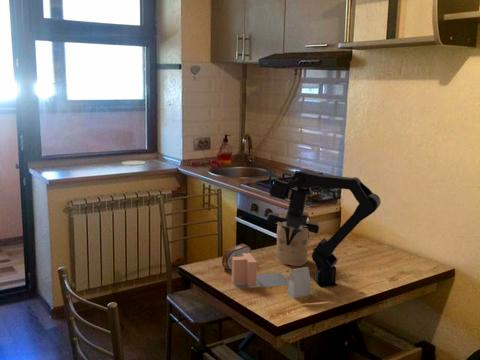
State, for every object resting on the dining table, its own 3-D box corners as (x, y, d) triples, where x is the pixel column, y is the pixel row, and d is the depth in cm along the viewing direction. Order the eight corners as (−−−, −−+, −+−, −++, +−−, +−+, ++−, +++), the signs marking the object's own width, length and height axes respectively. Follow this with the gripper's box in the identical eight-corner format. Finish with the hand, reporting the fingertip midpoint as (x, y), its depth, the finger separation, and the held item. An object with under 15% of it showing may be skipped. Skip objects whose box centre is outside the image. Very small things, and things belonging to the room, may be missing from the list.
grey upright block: (309, 296, 175) (311, 268, 173) (293, 300, 172) (294, 271, 170) (303, 292, 178) (305, 265, 176) (287, 295, 175) (288, 268, 173)
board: (280, 274, 193) (281, 273, 193) (290, 286, 183) (290, 284, 183) (229, 278, 188) (229, 276, 188) (236, 290, 178) (236, 288, 178)
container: (308, 267, 201) (310, 223, 197) (276, 266, 201) (278, 222, 197) (305, 256, 213) (307, 214, 209) (275, 255, 213) (277, 213, 210)
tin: (245, 261, 206) (246, 241, 205) (252, 263, 204) (252, 242, 203) (221, 271, 195) (221, 250, 193) (227, 273, 193) (227, 252, 191)
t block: (249, 276, 189) (250, 253, 187) (256, 286, 181) (257, 261, 179) (229, 277, 187) (230, 254, 186) (235, 287, 179) (236, 263, 177)
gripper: (270, 201, 178) (261, 244, 180) (323, 213, 177) (313, 256, 179) (272, 197, 189) (263, 237, 191) (322, 208, 188) (312, 249, 190)
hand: (287, 245), depth 188 cm, fingers closed
